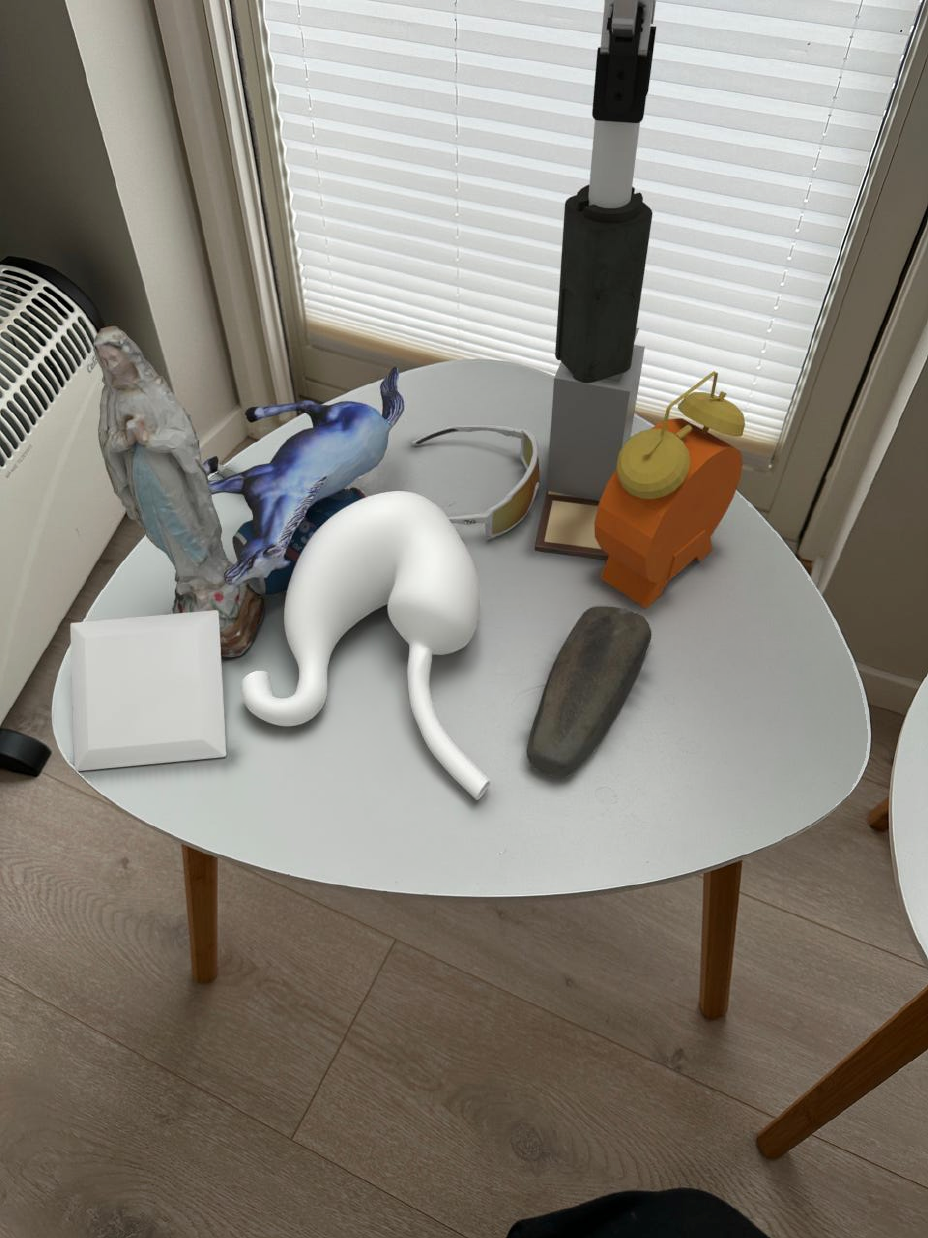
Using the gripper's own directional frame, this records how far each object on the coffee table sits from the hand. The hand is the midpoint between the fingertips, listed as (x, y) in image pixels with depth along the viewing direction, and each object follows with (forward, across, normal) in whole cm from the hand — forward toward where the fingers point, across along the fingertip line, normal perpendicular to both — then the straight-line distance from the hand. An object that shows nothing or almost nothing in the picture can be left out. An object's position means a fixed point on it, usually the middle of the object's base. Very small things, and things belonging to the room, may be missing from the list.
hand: (620, 104), depth 60 cm
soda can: (+35, +14, -28) cm, 47 cm away
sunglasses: (+39, -3, -12) cm, 41 cm away
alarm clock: (+39, +3, +8) cm, 40 cm away
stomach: (+39, +19, -13) cm, 45 cm away
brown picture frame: (+39, -4, 0) cm, 39 cm away
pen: (+38, 0, -31) cm, 50 cm away
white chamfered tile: (+35, +28, -31) cm, 54 cm away
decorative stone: (+39, +20, +4) cm, 44 cm away
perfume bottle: (+38, -7, 0) cm, 39 cm away
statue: (+39, +18, -30) cm, 52 cm away
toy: (+31, +2, -30) cm, 43 cm away
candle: (+20, 0, 0) cm, 20 cm away
